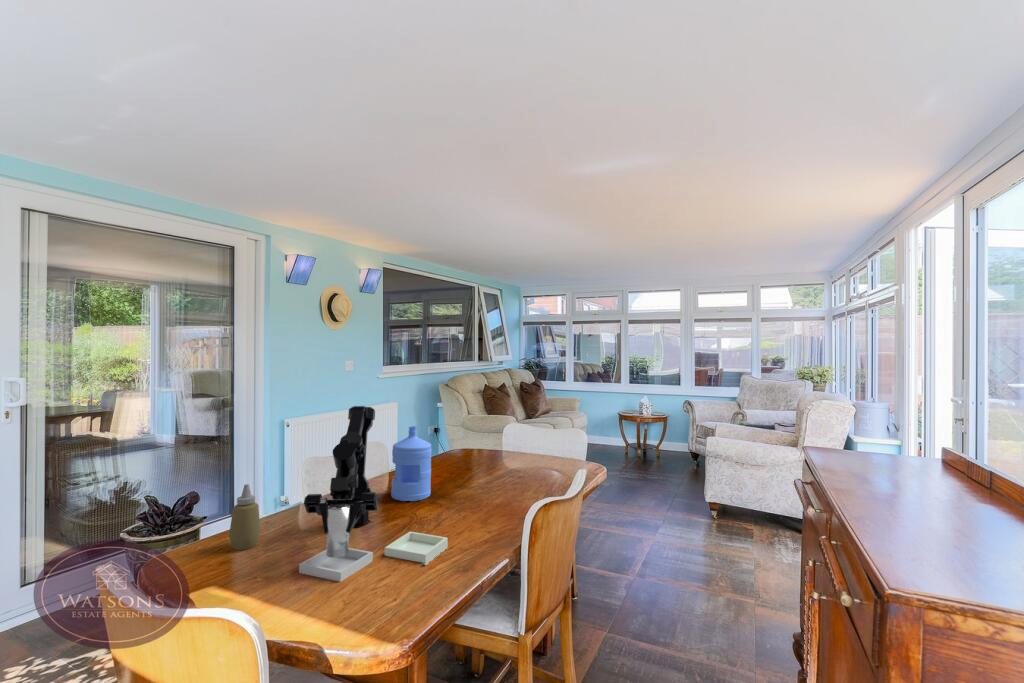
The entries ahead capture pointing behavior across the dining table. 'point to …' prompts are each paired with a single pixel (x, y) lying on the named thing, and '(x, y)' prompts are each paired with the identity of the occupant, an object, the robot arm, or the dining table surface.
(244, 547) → the squeeze bottle
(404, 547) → the sage bin
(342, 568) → the grey bin
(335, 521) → the brushed metal cylinder
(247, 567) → the dining table surface
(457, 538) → the dining table surface
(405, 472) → the water jug
